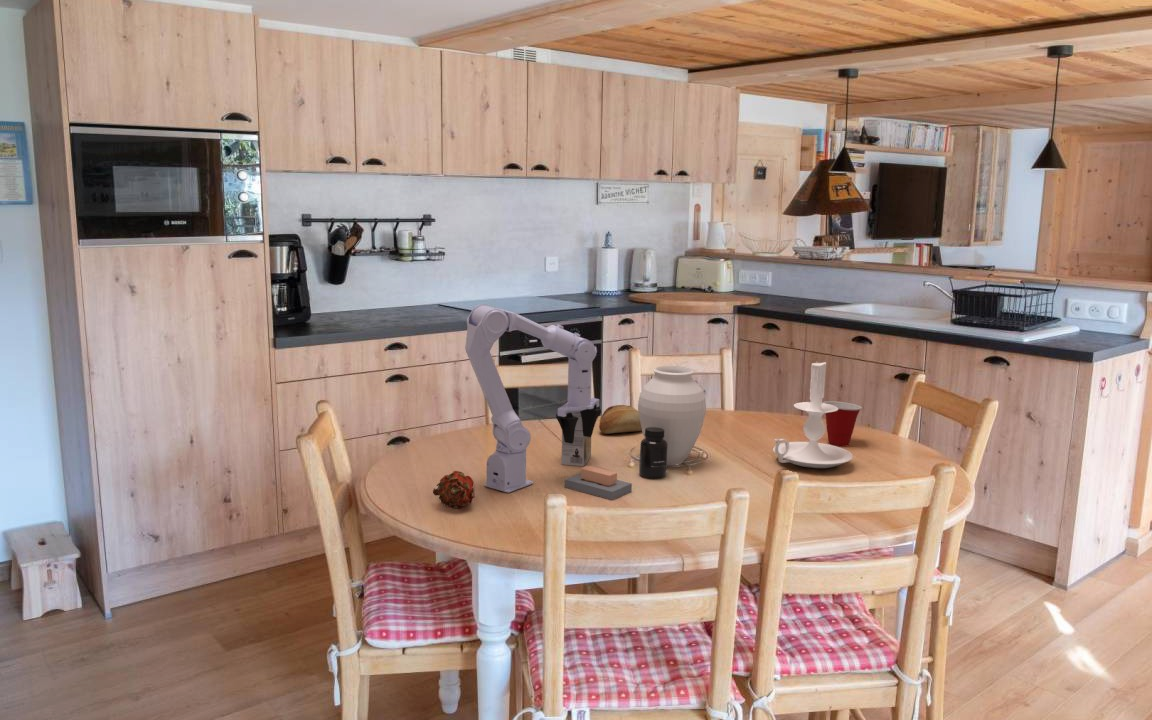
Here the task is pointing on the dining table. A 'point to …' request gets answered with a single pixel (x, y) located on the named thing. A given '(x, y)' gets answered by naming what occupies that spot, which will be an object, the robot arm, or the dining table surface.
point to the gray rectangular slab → (598, 487)
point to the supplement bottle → (653, 454)
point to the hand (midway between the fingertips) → (578, 439)
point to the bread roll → (620, 420)
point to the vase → (673, 409)
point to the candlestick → (813, 430)
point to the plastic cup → (841, 422)
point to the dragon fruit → (455, 490)
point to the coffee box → (576, 446)
